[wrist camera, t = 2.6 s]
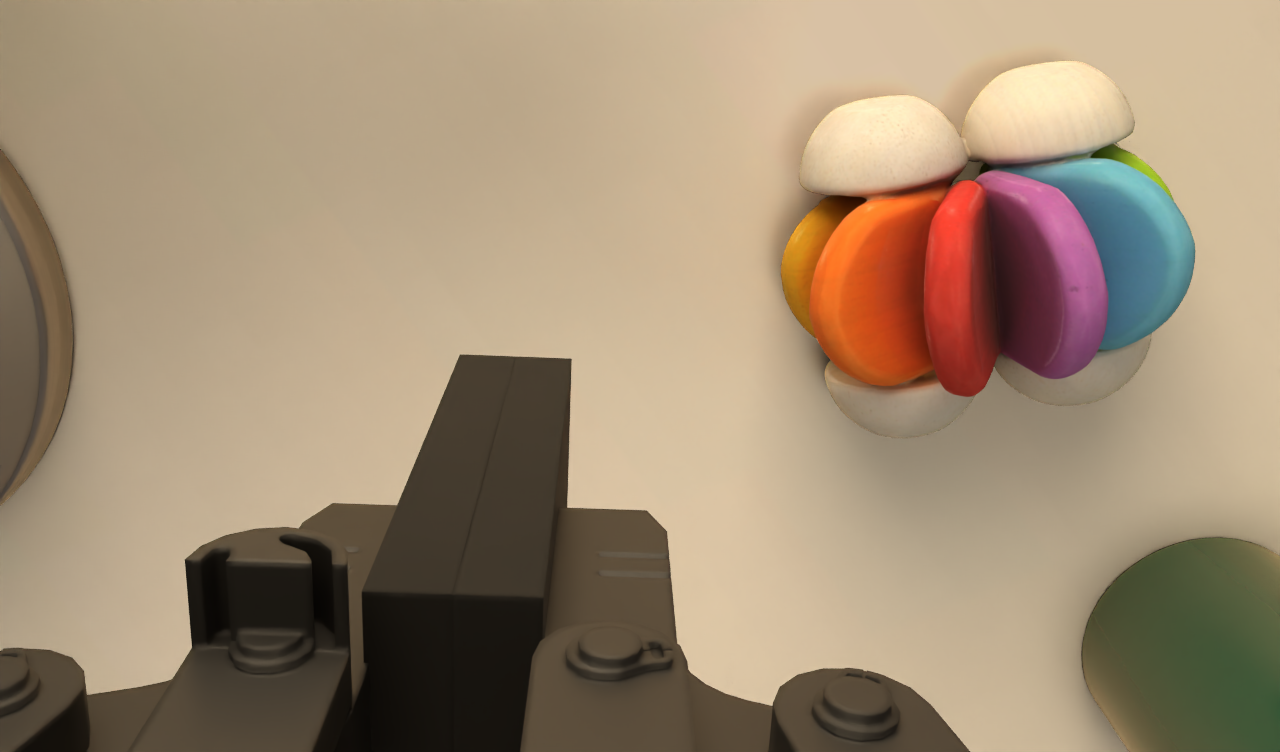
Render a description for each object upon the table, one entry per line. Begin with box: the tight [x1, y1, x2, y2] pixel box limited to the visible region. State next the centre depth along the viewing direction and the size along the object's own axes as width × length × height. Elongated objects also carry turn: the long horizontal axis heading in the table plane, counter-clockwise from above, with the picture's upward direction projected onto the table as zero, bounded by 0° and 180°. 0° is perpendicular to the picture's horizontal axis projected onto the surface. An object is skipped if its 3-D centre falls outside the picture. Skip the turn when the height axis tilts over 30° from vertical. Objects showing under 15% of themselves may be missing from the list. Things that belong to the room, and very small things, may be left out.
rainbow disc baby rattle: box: [781, 61, 1195, 438], centre depth 28 cm, size 8×10×7 cm
